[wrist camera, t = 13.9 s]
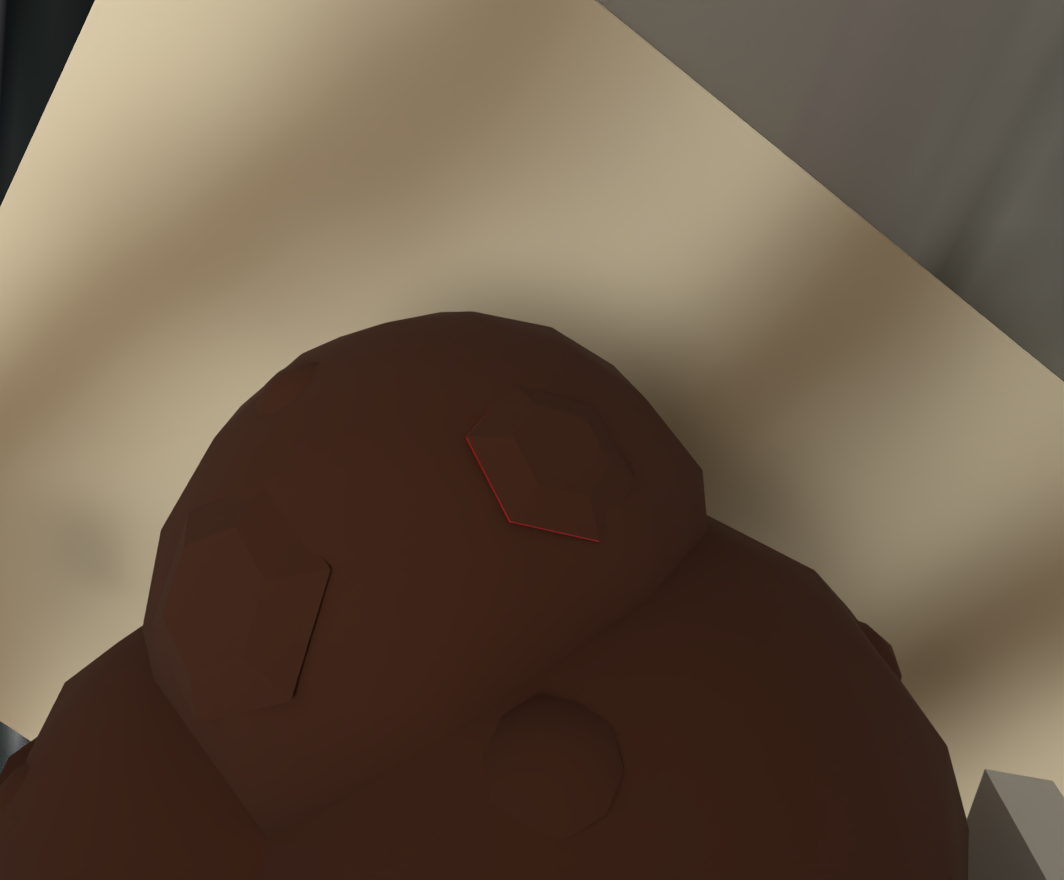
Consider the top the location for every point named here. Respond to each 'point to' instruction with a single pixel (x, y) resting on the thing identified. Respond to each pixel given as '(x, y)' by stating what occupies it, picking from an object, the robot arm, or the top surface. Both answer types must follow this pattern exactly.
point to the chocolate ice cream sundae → (476, 654)
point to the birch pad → (511, 292)
